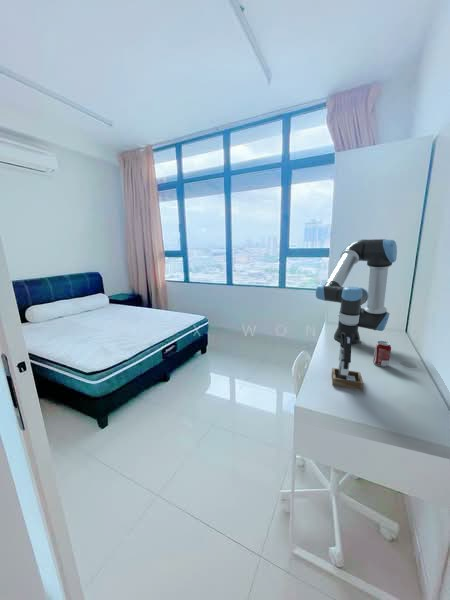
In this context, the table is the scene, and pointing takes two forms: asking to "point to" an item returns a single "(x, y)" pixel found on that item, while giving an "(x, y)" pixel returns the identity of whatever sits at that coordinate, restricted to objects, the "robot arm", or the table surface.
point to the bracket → (341, 368)
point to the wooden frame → (347, 383)
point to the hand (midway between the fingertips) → (343, 367)
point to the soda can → (382, 353)
